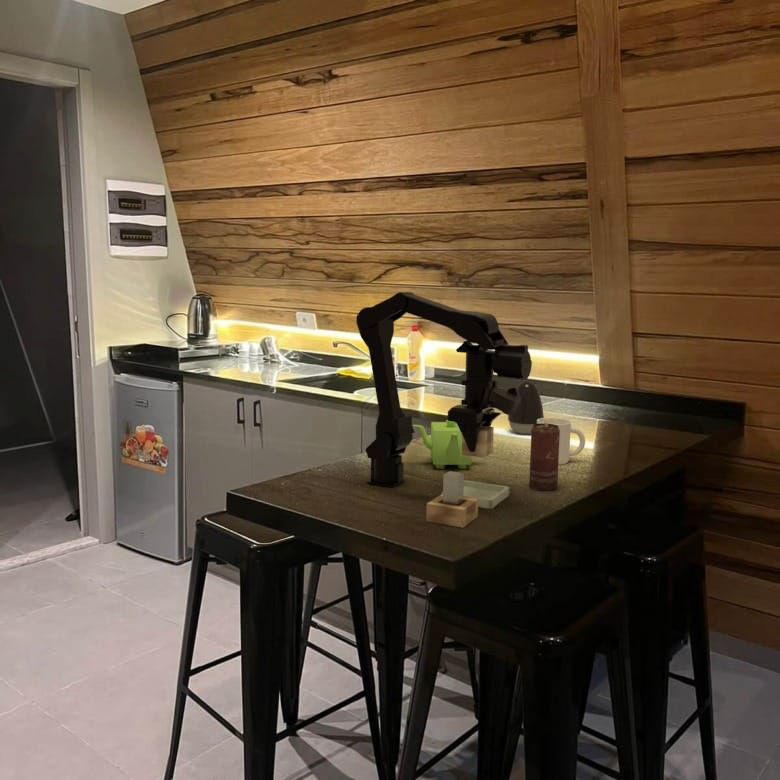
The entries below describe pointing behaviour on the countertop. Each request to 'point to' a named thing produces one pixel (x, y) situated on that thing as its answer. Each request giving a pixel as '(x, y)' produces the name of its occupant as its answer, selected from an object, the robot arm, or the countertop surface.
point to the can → (544, 456)
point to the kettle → (445, 444)
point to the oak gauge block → (452, 512)
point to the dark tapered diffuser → (526, 409)
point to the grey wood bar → (453, 488)
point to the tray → (485, 493)
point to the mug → (565, 438)
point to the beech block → (481, 443)
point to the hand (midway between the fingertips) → (477, 448)
